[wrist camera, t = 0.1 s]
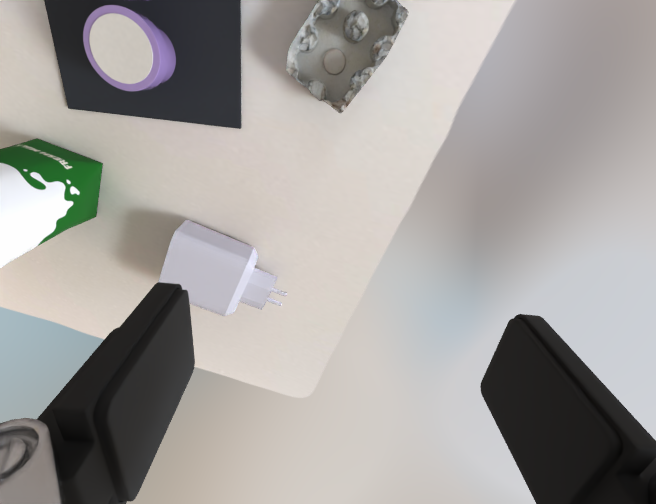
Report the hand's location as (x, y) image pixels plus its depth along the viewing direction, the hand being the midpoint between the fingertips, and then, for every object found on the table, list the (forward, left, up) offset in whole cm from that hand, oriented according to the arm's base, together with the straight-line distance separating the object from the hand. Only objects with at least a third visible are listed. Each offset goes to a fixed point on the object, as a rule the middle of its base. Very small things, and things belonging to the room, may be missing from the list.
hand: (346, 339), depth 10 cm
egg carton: (-10, 0, -31) cm, 33 cm away
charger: (+17, -11, -31) cm, 37 cm away
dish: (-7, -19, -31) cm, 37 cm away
